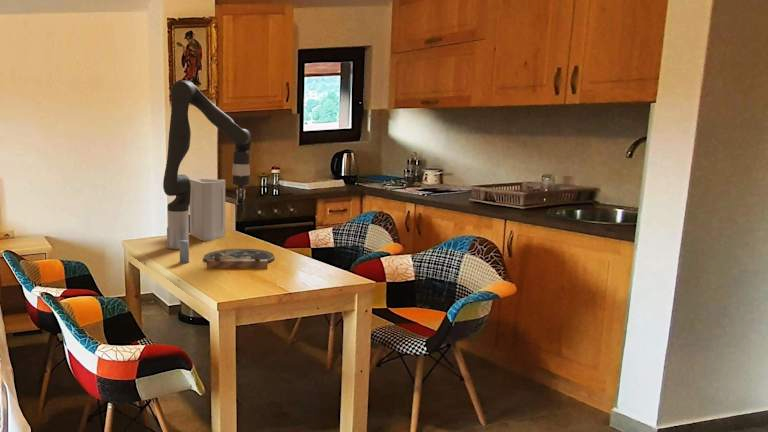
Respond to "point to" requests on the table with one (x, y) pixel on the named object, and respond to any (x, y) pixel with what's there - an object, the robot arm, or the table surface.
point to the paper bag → (207, 209)
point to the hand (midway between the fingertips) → (240, 212)
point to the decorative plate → (239, 254)
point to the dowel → (184, 251)
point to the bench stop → (237, 262)
